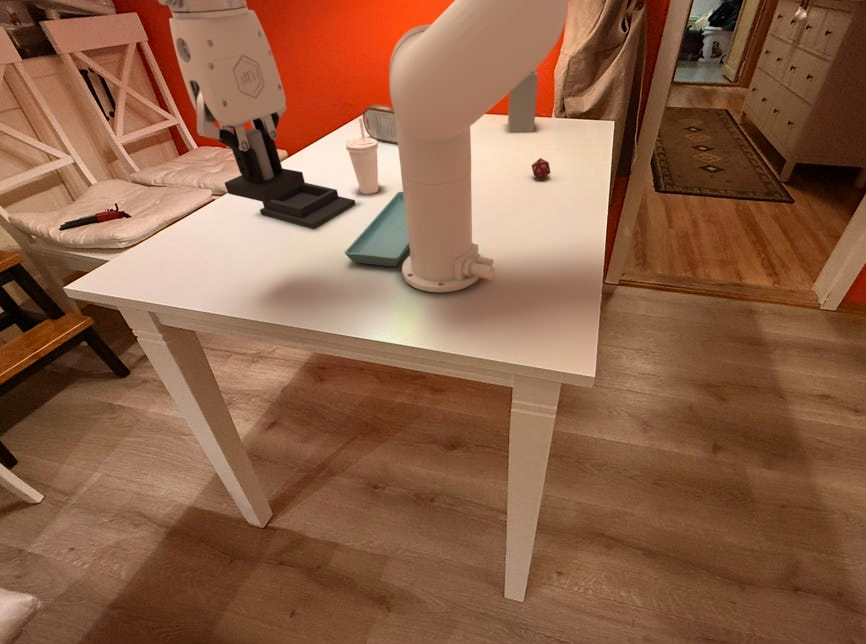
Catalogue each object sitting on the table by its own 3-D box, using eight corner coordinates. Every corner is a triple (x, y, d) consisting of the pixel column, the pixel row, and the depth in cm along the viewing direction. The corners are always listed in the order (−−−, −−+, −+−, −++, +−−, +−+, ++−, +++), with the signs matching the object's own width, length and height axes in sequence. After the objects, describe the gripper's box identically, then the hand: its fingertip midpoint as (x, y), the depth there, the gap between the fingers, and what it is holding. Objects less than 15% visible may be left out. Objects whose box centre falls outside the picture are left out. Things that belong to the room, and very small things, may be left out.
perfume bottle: (533, 131, 126) (539, 53, 114) (509, 132, 126) (512, 54, 114) (531, 124, 131) (536, 49, 119) (507, 125, 131) (510, 49, 119)
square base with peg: (305, 183, 62) (290, 127, 58) (267, 202, 58) (247, 144, 53) (267, 175, 65) (250, 121, 60) (228, 194, 60) (206, 137, 56)
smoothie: (378, 197, 95) (367, 124, 86) (349, 195, 96) (335, 123, 87) (388, 185, 100) (378, 114, 90) (360, 183, 101) (348, 113, 91)
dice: (535, 183, 99) (536, 163, 96) (528, 175, 102) (530, 156, 99) (551, 181, 99) (553, 162, 97) (545, 173, 103) (546, 155, 100)
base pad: (355, 204, 93) (353, 191, 91) (314, 229, 85) (310, 214, 83) (304, 192, 98) (301, 179, 96) (261, 214, 90) (256, 200, 88)
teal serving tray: (399, 200, 93) (397, 188, 92) (442, 204, 92) (441, 192, 90) (345, 266, 75) (342, 252, 73) (399, 272, 73) (397, 258, 71)
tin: (415, 144, 120) (412, 108, 115) (407, 147, 118) (404, 111, 113) (371, 135, 127) (366, 101, 121) (364, 139, 125) (358, 104, 119)
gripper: (160, 6, 41) (235, 204, 54) (288, -9, 52) (326, 160, 64) (110, 5, 44) (192, 194, 56) (241, -9, 54) (286, 153, 67)
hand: (263, 174), depth 60 cm, fingers closed on square base with peg, 2 cm apart
